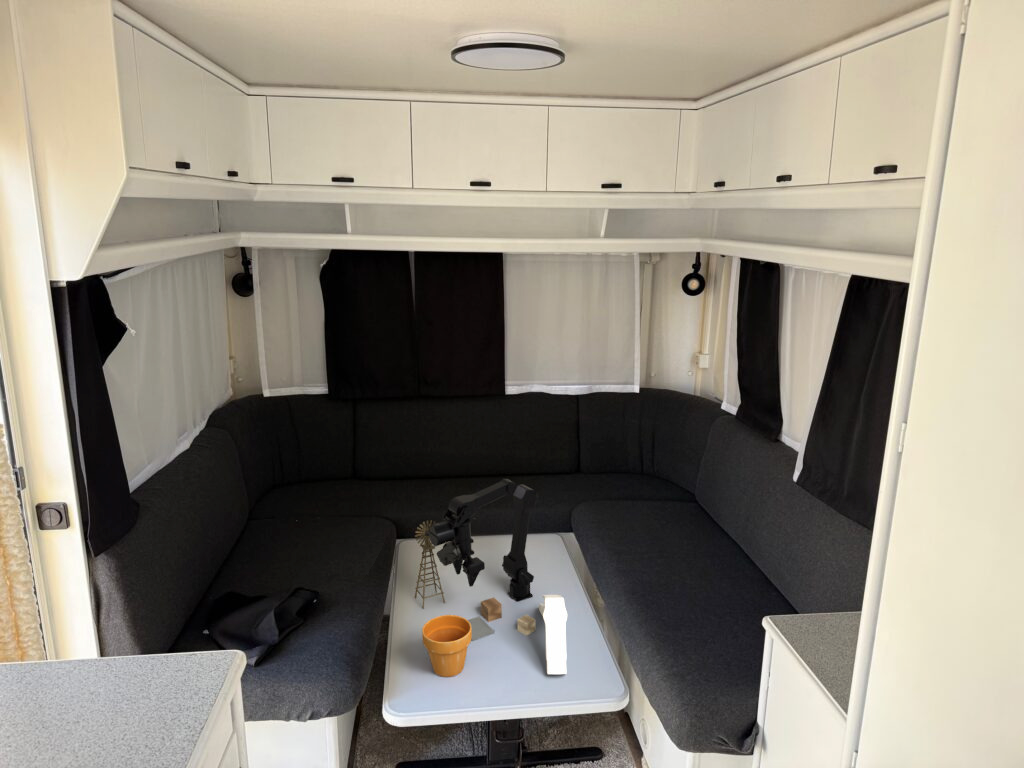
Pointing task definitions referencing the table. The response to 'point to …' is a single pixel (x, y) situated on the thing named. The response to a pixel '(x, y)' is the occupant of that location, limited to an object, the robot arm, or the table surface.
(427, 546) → the miniature windmill
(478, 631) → the plate
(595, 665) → the table surface
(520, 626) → the maple cube
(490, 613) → the walnut cube
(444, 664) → the flower pot
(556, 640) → the white elongated block
